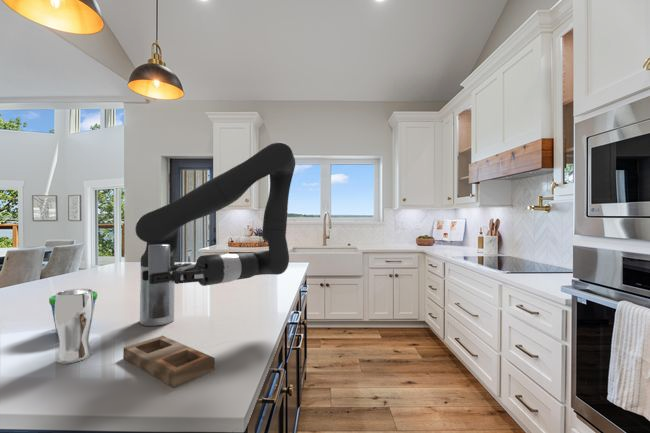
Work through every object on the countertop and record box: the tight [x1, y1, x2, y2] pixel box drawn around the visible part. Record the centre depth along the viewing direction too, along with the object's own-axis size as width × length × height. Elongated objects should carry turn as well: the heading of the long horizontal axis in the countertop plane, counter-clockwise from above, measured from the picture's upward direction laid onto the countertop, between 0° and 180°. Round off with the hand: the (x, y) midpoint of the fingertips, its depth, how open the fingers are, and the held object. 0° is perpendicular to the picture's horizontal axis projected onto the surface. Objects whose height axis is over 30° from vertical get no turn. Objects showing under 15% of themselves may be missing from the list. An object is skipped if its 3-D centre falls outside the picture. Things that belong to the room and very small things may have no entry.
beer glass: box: [54, 288, 94, 365], centre depth 74 cm, size 7×7×15 cm
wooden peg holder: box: [122, 335, 216, 388], centre depth 71 cm, size 21×9×3 cm, turn 54°
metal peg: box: [148, 244, 170, 319], centre depth 74 cm, size 4×4×16 cm
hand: (146, 277), depth 72 cm, fingers closed on metal peg, 4 cm apart
